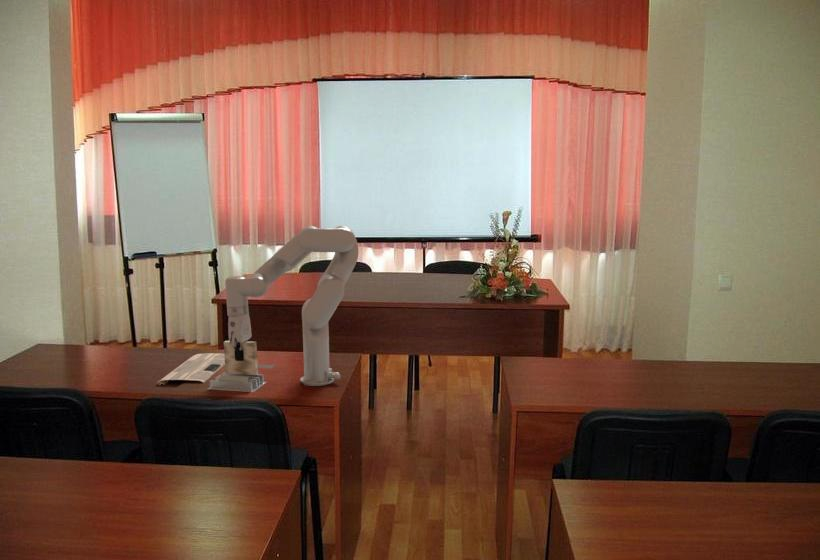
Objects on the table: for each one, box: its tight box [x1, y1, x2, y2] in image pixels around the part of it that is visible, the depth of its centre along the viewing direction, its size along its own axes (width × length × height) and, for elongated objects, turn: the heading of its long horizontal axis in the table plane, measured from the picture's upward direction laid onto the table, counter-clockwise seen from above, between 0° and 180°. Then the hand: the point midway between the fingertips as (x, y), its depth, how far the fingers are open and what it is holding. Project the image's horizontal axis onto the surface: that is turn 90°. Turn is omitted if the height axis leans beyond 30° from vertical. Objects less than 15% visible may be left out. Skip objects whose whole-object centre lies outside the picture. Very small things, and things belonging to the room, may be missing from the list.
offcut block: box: [219, 374, 248, 382], centre depth 271 cm, size 10×3×4 cm, turn 78°
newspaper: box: [156, 352, 225, 386], centre depth 297 cm, size 37×19×3 cm, turn 176°
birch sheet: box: [223, 340, 259, 375], centre depth 276 cm, size 12×2×12 cm, turn 77°
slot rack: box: [207, 371, 268, 393], centre depth 274 cm, size 18×12×4 cm, turn 78°
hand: (241, 359), depth 276 cm, fingers closed on birch sheet, 2 cm apart
